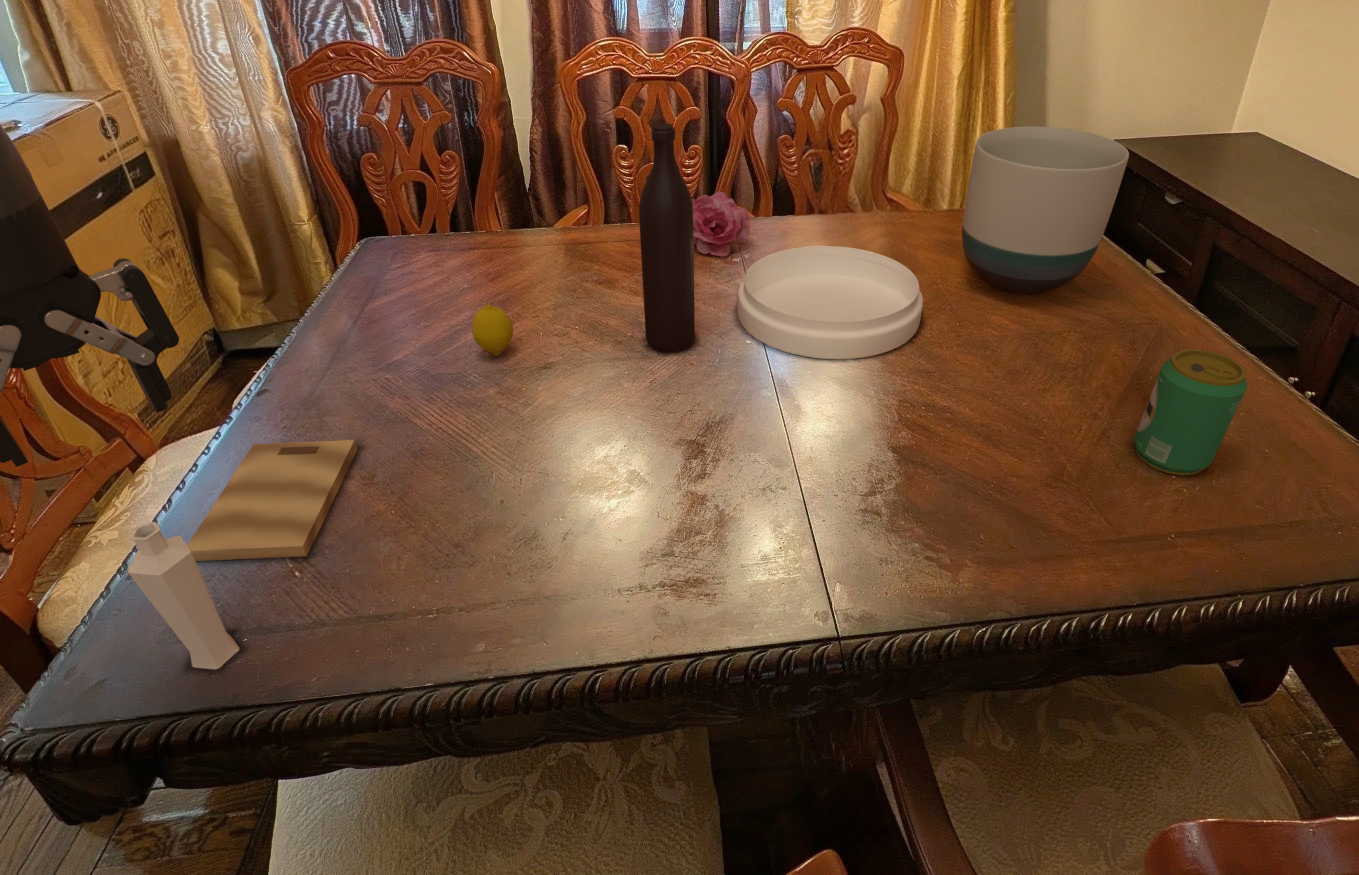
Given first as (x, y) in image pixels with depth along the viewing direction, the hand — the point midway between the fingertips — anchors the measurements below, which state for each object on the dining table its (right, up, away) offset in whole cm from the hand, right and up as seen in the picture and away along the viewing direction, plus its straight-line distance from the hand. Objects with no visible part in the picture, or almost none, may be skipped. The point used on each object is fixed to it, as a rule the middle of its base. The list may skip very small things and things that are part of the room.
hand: (92, 432), depth 55 cm
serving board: (-4, -7, +34) cm, 35 cm away
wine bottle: (+39, +13, +60) cm, 73 cm away
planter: (+94, +24, +72) cm, 121 cm away
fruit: (+15, +11, +59) cm, 61 cm away
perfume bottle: (-1, -20, +17) cm, 26 cm away
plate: (+63, +18, +66) cm, 93 cm away
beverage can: (+96, -3, +36) cm, 103 cm away
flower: (+47, +33, +87) cm, 104 cm away
